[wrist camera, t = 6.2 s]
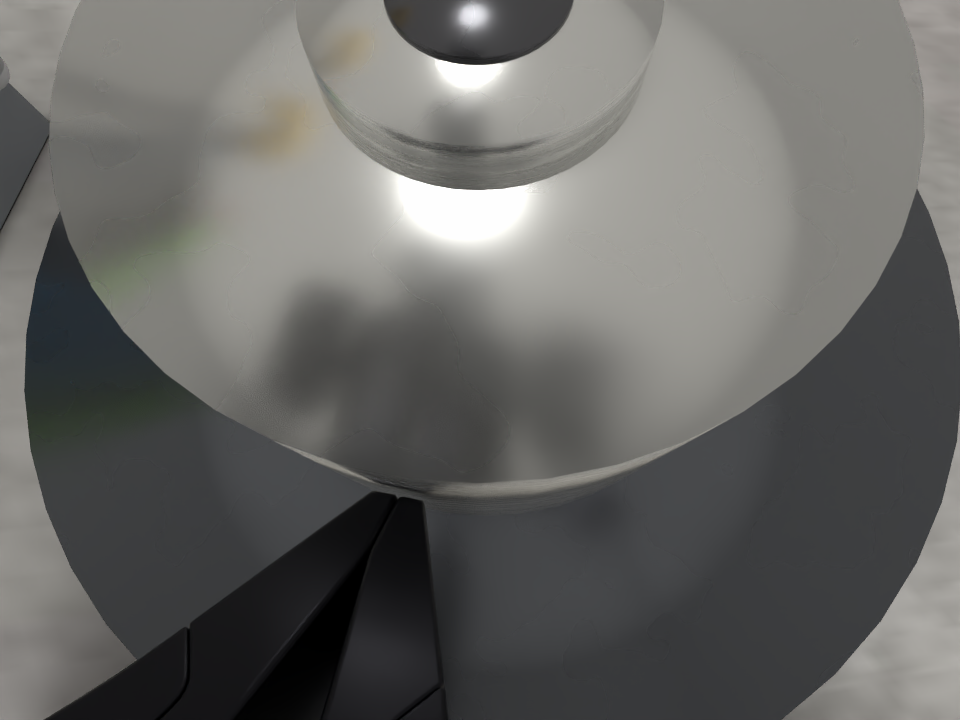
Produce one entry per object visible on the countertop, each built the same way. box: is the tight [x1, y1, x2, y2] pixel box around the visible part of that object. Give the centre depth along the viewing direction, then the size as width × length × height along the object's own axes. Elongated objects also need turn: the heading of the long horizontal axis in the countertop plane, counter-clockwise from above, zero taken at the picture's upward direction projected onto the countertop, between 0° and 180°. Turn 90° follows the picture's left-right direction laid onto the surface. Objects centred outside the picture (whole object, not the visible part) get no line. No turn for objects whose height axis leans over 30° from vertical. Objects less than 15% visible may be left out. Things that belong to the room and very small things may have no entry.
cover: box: [49, 0, 924, 516], centre depth 12 cm, size 13×13×8 cm
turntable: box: [24, 190, 960, 720], centre depth 16 cm, size 24×24×2 cm
